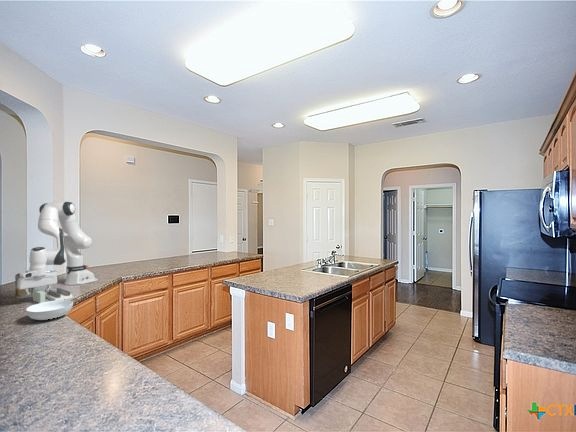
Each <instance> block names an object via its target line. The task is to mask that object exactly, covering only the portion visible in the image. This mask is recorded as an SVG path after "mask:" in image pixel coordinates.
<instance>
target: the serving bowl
mask: <svg viewBox="0 0 576 432" xmlns="http://www.w3.org/2000/svg"><path fill="white" fill-rule="evenodd" d="M73 306H74V301H73V300H70V299H65V300H54V301H53V300H49V301H45V302H43V303H36V304H32V305H30V306H28V307H26V309H25V311H26V315H27V316H28V318H30V319H32V320H36V321H49V320H48V319H50V320H54V319H53V318H55V319H57V317H58V318H60V317H62V316H65V315H66V314H68V313H69V312H70V311H71V310H72V309H73Z"/></svg>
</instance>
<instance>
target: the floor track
mask: <svg viewBox="0 0 576 432" xmlns="http://www.w3.org/2000/svg"><path fill="white" fill-rule="evenodd" d="M69 298H70V299H73V294H71V291H69V290H67V289H63V288H60V287H57V288H56V291H55V290H52V289H49V292H46V293H45V299H48V300H49V301H54V300H64V299H65V300H70V299H69Z"/></svg>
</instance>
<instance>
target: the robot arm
mask: <svg viewBox="0 0 576 432" xmlns="http://www.w3.org/2000/svg"><path fill="white" fill-rule="evenodd" d="M38 212H39V216H38V221H37V229H38V230H39V232H41V234H42V233H43V234H44V235H47V236H50V237H54V238H55V239H56V248H57V249H56V250H47V248H46V247H45V246H36V247H32V248H31V249H30V251H29V257H28V258H29V261H28V262H29V268H28V270H26V271H23V272H19V273H20V278H19V279H18V283H17V288H18V289H20V290H22V289H25V291H26V292H27V295H31V292H28V290H29V288H34V287H35V288H40V287H45V286H46V287H47V288H45V289H44V292H45V293H47V292H49V290H50V288H51V287H52V285H56V284H58V277H57V276H58V271H56V270H48V266H52V265H53V266H62V265H63V264H65V263H66V269H65V272H66V276H65V281H64V285H66V286H67V285H68V286H74V285H75V286H77V285H78V286H79V285H80V286H81V285H85V284H89V283H93V282H96V281H97V282H98V278H97V277H95V274H94V272H92V271H90V270H88V269H89V267H90V266H89V265H87V264H84V263H85V262H84V261H85V257H84V255H83V253H81V252H80V251H79V250H84V249H89V248H91V246H92V245H93V239H92V238H91V236H88V235H87V234H86V233H85V232H84V231H83V230H82V228H81V227H80V224H79V222H78V217H77V216H76V206H75V204H74V203H73V202H71V201H55V202H49V203H48V202H46V203H43V204H41V205H40V206H39V210H38ZM59 224H60V226H59ZM64 233H65V234H66V235H64Z"/></svg>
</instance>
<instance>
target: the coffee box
mask: <svg viewBox="0 0 576 432" xmlns="http://www.w3.org/2000/svg"><path fill="white" fill-rule="evenodd" d="M20 273H21V272H19V273H17V274H15V275H14V278H15V279H14V282H15V284H14V285H15V287H14V288H15V300H18V299H28V298H33V290H36V287H34V288H29V290H28V292H31V295H27V292H26V291H25V289H22V290H20V289H18V288H17V283H18V279H19V278H20Z"/></svg>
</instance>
